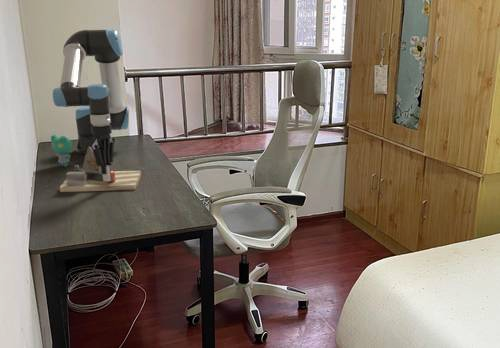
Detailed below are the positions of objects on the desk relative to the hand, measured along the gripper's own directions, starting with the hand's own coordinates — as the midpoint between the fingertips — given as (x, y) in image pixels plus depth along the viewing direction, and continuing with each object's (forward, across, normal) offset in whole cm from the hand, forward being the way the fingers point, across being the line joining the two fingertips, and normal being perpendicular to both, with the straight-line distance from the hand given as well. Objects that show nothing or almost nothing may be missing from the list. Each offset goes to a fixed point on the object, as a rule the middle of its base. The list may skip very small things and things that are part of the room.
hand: (106, 180), depth 203 cm
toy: (+3, +20, +38) cm, 43 cm away
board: (+3, +5, +6) cm, 8 cm away
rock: (+3, +18, +20) cm, 27 cm away
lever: (+1, +3, +7) cm, 8 cm away
